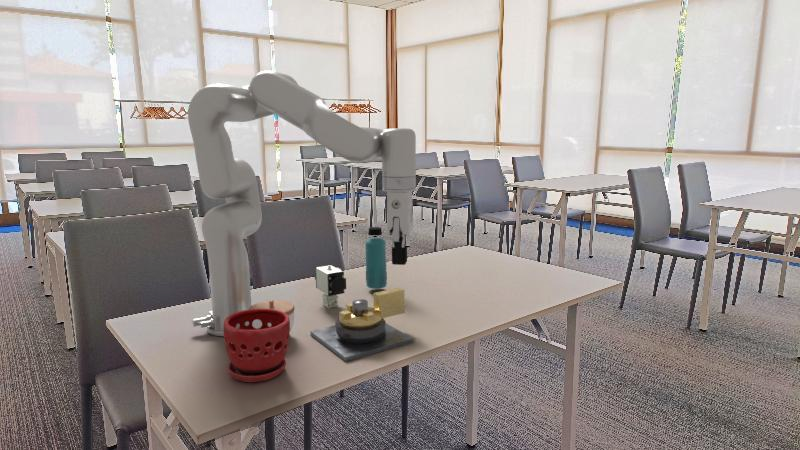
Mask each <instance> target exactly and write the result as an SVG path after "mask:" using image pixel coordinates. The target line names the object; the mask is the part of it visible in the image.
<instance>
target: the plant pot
mask: <svg viewBox="0 0 800 450" xmlns="http://www.w3.org/2000/svg"><path fill="white" fill-rule="evenodd" d="M256 319H258V320H260V321H261V322H262V326H261V327H260V328H258V329H256V328H254V327H253V326H252V323H253V321H254V320H256ZM246 322H249V325H248V326H245V323H246ZM268 323H271V327H269V326H268ZM237 324H239V325H240V327H239V328H236V325H237ZM290 333H291V331H290V319H289V316H288V315H287V314H286V313H284V312H282V311H278V310H273V309H249V310H244V311H240V312H236V313H233V314H231V315H229V316H228V317H227V318H226V319H225V320H224V336H223V338H224V340H223V341H224V346H225V351H226V354H227V356H228V359H229V361H230V362H229V363H228V365H227V371H228V373H229V374H230V376H231V377H233V378H234V379H235V380H237V381H242V382H245V383H247V382H248V383H255V382H257V383H258V382H262V381H267V380H270V379H274V378H275V377H276V376H278V375H280V374H281V373H282V372H283V371H284V370H285V368H286V365H287V361H286V358H285V356H286V354H287V351H288V347H289V341H290Z"/></svg>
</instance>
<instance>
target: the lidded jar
mask: <svg viewBox="0 0 800 450" xmlns="http://www.w3.org/2000/svg"><path fill="white" fill-rule="evenodd" d="M249 309H273V310H278V311H282V312H284V313H286V314H287V315H288V316H289V319H290V332H291V331H292V329H293V326H294V322H295V304H294V303H293V302H291V301H288V300H281V299H268V300H264V301H260V302H256V303H254V304H251V307H250V308H249ZM252 326H253V327H254V328H256V329H258V328H260V327H261V326H262V322H261V321H260V320H258V319H256V320H254V321H253V323H252ZM268 326H269V327H271V323H268Z"/></svg>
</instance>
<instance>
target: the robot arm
mask: <svg viewBox="0 0 800 450" xmlns="http://www.w3.org/2000/svg"><path fill="white" fill-rule="evenodd" d="M272 115H276V116H277V117H279V118H280V119H282V120H284V121H286V122H287V123H290V124H291V125H293V126H295V127H296V128H298V129H300V130H301V131H303V132H304V133H305V134H306V135H307V136H308V137H310V138H311V139H313V140H314V141H315V142H316V143H318V144H319V145H321V146H322V147H324V148H325V149H327V150H328V151H330V152H332V153H334V154H336V155H338V156H340V158H343V159H345V160H347V161H349V162H352V163H354V164H356V163H357V164H361V163H366V162H371V161H376V160H381V162H382V163H381V164H382V165H381V173H382V174H381V175H382V182H381V183H382V191H383V192H384V193H385V192H386V194H387V195H386V225H387V226H386V228H387V234H388V236H391V264H392V265H395V266H396V265H399V266H404V265H406V264H407V261H408V245H407V237H409V236H410V235H411V234H412V231H413V229H414V213H413V212H414V211H413V210H414V209H413V193H412V192H415V191H416V189H417V188H416V187H417V186H416V185H417V184H416V181H417V180H416V179H417V178H416V175H417V172H416V171H417V169H416V166H417V164H416V163H417V160H416V158H417V157H416V156H417V155H416V154H417V153H416V152H417V151H416V149H417V145H416V144H417V141H416V132H415V131H414V129H412V128H406V127H405V128H404V127H403V128H399V127H397V128H396V127H395V128H386V129H384V128H383V129H381V128H375V127H365V126H364V127H360V126H359V125H356V124H354V123H352V122H350V121H349V120H348V119H346V118H344V117H341V116H340V115H339V114H337V113H336V112H334V111H332V110H331V108H329V107H328V106H327V103H326V101H325V100H324V99H323V98H322V97H321V96H319V95H317V94H315V93H314V92H312V91H310V90H308V89H306V88H304V87H302V86H301V85H299V84H298V82H297V81H296V79H295V78H294V77H292V76H290V75H288V74H287V73H286V74H285V73H281V72H277V71H274V70H262V71H260V72H258V73H257V74H255V75H254V77H252V78H251V81H250V84H249V85H246V86H245V85H244V86H237V85H233V84H231V85H230V84H224V83H216V84H215V83H213V84H209V85H206V86H204V87H202V88H200V89H199V90H198V91H196V93H195V94H194V95H193V97H192V98H191V100H190V102H189V104H188V110H187V121H188V125H189V130H190V135H191V138H192V142H193V146H194V147H193V148H194V154H195V160H196V166H197V173H198V178H199V183H200V184H199V185H200V187H201V190H202V192H203V194H204V195H205V196H206V197H208V198H209V199H212V200H224V199H225V203H223V204H219V205H217V206H214V207H212V208H210V209H209V210H208V211H207V212H206V213H205V215H204V217H203V218H202V222H201V233H202V237H203V239H204V243H205V248H206V254H207V261H208V272H209V283H210V285H209V286H210V296H211V299H210V300H211V310H209V311H208V313H209V314H207V315H205V316H204V317H197V318H192V325H193V327H200V328H203V329H204V328H206V331H207V332H208V334H211V335H213V336H218V337H224V320H225V319H226V318H227V317H228V316H229V315H231V314H233V313H236V312H240V311H244V310H249V308H250V307H251V306H252V291H251V290H252V289H251V277H250V274H251V273H250V260H249V255H248V251H247V247H246V245H245V242H244V238H247V237H248V236H251V235H253V234H255V233H256V232H257V231H258V230H259V229H260V226H261V225H262V222H263V215H262V213H263V212H262V206H261V200H260V199H261V198H260V192H259V187H258V186H259V185H258V180H257V176H256V174H255V170H254V169H253V167H252V166H251V164H250V163H248V162H247V161H245V160H244V159H241V158H237V157H234V152H233V148H232V147H233V146H232V141H231V137H230V135H229V133H228V131H227V129H226V127H225V123H226V122H230V123H231V122H232V123H233V122H234V123H237V122H238V123H245V122H252V121H256V120H258V119H261V118H266V117H269V116H272ZM248 325H249V322H246V323H245V326H248ZM239 327H240V325H239V324H237V325H236V328H239Z"/></svg>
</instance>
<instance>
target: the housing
mask: <svg viewBox="0 0 800 450" xmlns="http://www.w3.org/2000/svg"><path fill="white" fill-rule="evenodd" d="M310 336H311V337H313V339H315V340H316V341H317V342H319V343H320V344H321V345H323V346H324V347H326V348H327V349H328V350H330V351H331V352H332V353H334V354H335V355H336V356H337V357H339V358H340V359H342V360H343V361H344V362H350V361H353V360H356V359H360V358H363V357H367V356H370V355H373V354H377V353H380V352H384V351H387V350H391V349H395V348H397V347H398V348H399V347H402V346H406V345H409V344H412V343H414V338H413V337H412V336H410V335H408V334H406V333H404V332H403V331H400V330H399V329H397V328H395V327H394V326H392V325H390V324H388V323H387V322H386V320H385V318H382V319H381V323H380V324H379V325H378V326H376V327H374V328H370V329H363V330H354V329H348V328H344V327H342V326H341V325H340V323H339V319H337V320H336V321H335V324H334V325H331V326H327V327H323V328H319V329H313V330H311V331H310Z"/></svg>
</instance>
